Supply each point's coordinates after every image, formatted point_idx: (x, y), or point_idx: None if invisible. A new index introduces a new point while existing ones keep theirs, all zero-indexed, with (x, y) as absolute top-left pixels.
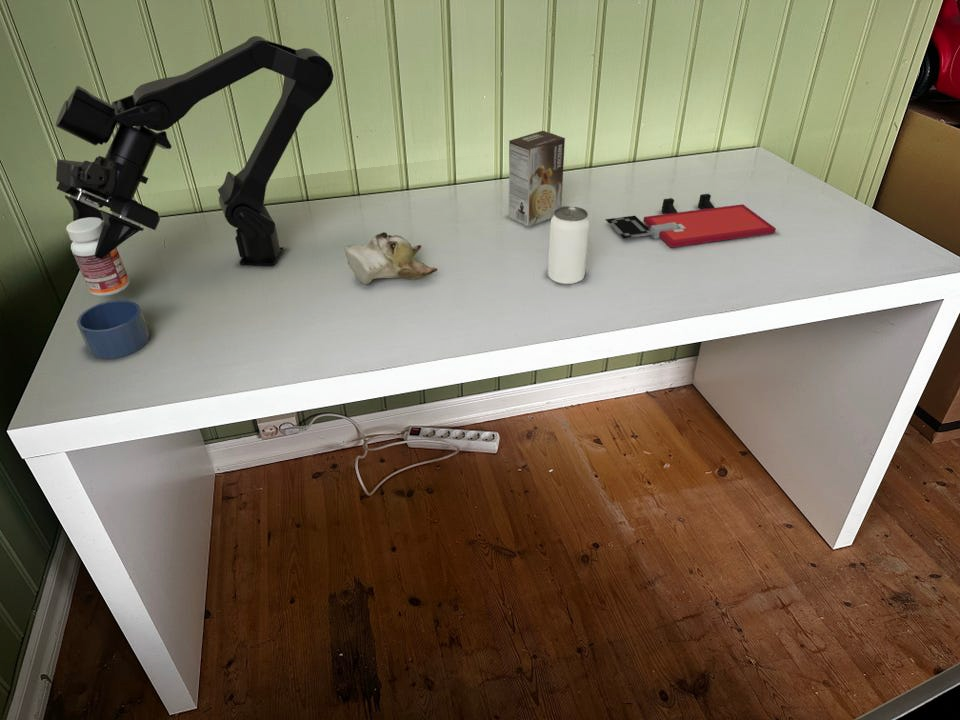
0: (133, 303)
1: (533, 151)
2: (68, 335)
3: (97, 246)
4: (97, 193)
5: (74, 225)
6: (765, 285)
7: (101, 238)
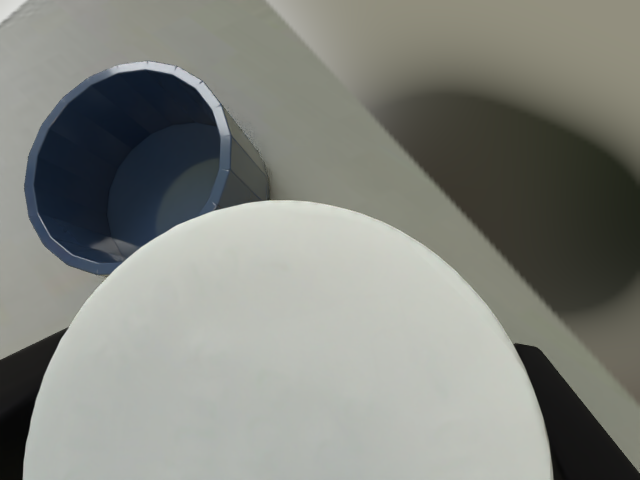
0: (90, 262)
1: None
2: (365, 155)
3: None
4: None
5: (385, 369)
6: None
7: (29, 362)
